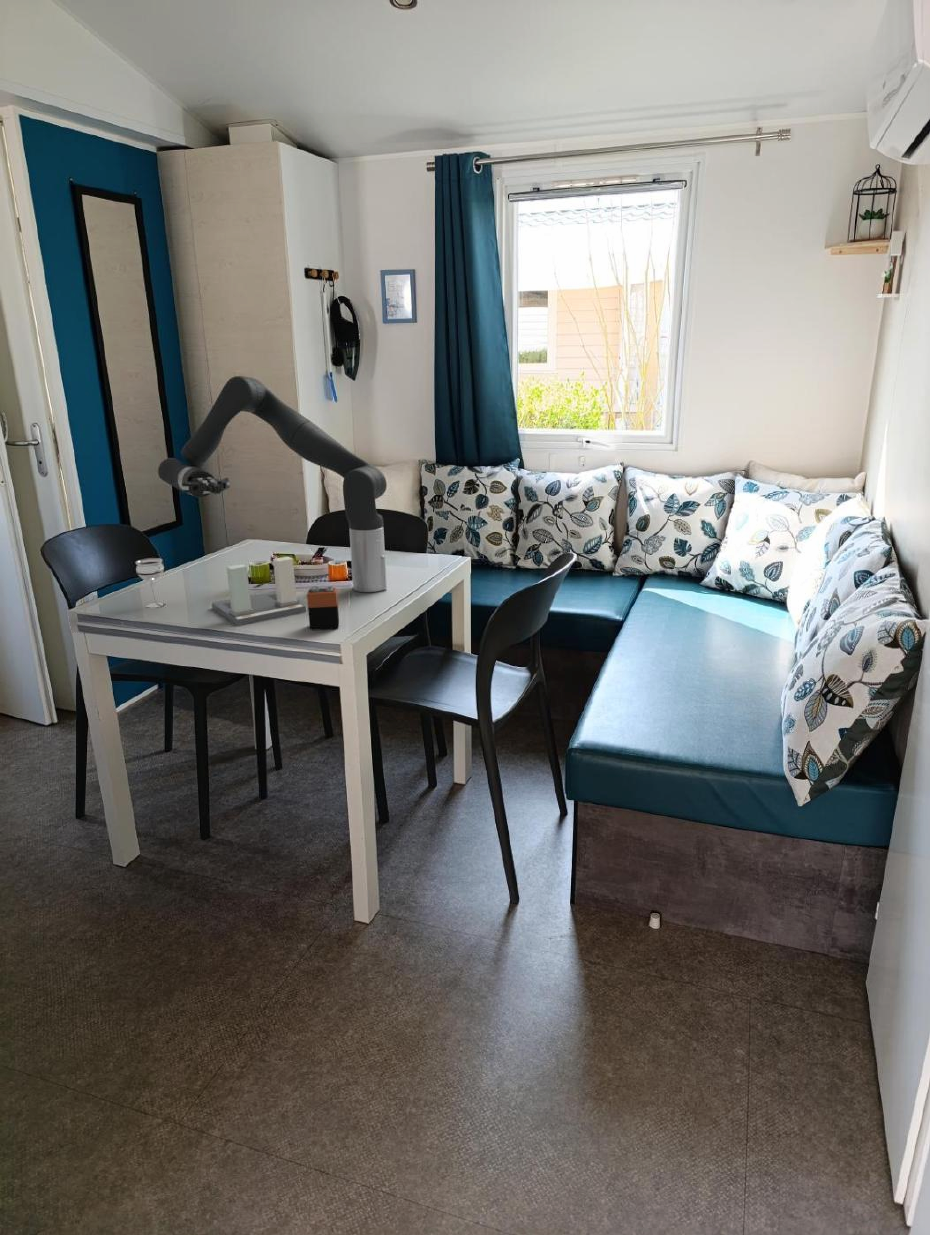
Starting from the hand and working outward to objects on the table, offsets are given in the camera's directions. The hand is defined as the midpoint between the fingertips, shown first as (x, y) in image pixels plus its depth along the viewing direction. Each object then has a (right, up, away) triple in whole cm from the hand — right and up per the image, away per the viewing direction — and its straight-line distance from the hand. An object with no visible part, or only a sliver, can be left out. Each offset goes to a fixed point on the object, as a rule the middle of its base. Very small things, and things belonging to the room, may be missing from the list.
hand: (217, 489), depth 207 cm
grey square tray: (+10, -30, +3) cm, 32 cm away
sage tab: (+7, -31, -4) cm, 32 cm away
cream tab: (+17, -29, +2) cm, 34 cm away
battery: (+29, -35, -11) cm, 46 cm away
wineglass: (-19, -29, +9) cm, 36 cm away
